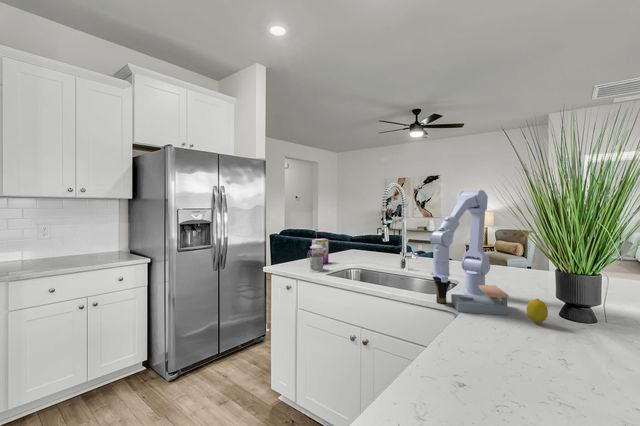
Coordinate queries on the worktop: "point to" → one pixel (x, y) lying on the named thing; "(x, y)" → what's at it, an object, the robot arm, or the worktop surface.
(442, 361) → the worktop surface
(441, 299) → the peg
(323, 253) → the candy bar box
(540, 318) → the lemon
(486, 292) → the socket block
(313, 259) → the french press
